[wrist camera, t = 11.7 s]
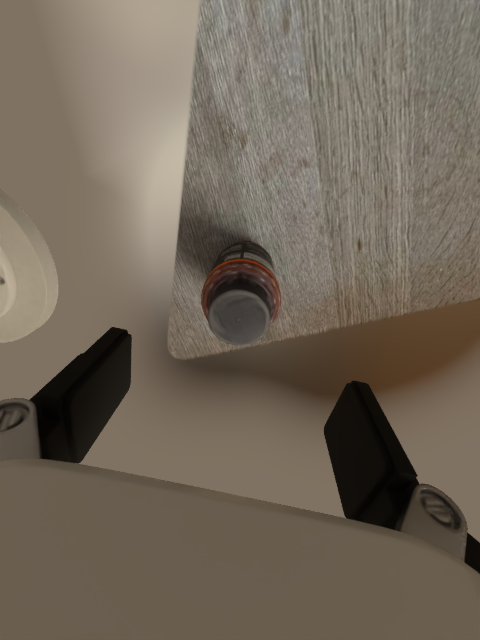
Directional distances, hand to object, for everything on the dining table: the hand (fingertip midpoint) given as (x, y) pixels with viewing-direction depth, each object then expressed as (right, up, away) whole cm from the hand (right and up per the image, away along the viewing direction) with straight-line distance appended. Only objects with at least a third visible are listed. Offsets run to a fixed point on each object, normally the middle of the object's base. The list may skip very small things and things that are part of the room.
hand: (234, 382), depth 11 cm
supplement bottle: (+1, +8, +15) cm, 17 cm away
